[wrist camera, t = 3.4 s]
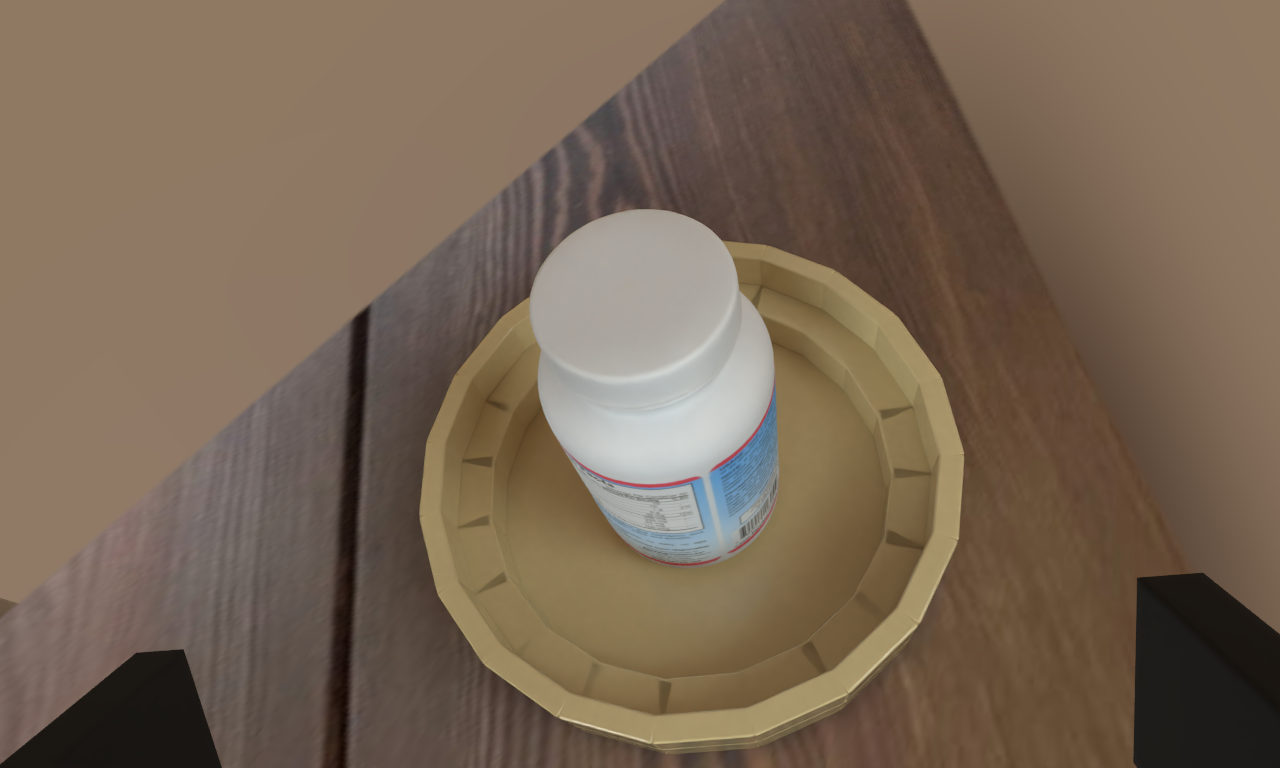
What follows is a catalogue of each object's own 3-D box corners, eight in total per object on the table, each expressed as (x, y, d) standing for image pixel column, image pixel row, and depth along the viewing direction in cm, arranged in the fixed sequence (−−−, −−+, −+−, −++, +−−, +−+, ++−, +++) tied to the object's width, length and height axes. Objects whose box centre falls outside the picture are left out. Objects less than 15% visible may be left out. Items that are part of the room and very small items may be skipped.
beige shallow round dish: (368, 575, 27) (316, 543, 24) (623, 244, 32) (607, 185, 30) (794, 882, 20) (796, 891, 17) (1018, 402, 26) (1048, 347, 23)
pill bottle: (722, 379, 28) (689, 144, 18) (814, 518, 25) (832, 322, 15) (573, 456, 27) (459, 254, 18) (648, 608, 24) (560, 463, 15)
